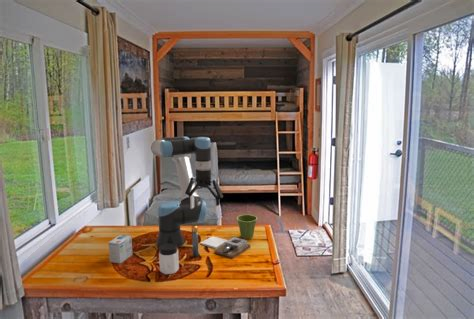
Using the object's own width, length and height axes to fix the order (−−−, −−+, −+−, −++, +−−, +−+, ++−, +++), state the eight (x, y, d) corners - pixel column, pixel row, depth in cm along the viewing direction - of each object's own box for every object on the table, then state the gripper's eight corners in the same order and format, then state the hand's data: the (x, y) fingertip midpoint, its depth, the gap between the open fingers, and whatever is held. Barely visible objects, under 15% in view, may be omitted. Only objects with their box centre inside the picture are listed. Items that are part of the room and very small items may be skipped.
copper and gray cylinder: (191, 256, 195) (190, 226, 192) (195, 254, 197) (194, 224, 194) (195, 257, 193) (194, 227, 190) (199, 255, 196) (198, 226, 193)
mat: (200, 244, 210) (200, 242, 209) (212, 237, 218) (212, 236, 218) (216, 248, 203) (215, 247, 203) (228, 241, 212) (228, 240, 212)
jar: (160, 275, 175) (158, 251, 173) (159, 267, 183) (158, 244, 181) (179, 273, 177) (178, 249, 175) (178, 265, 185) (177, 242, 183)
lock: (214, 252, 198) (214, 245, 198) (232, 242, 211) (232, 235, 210) (233, 258, 192) (232, 251, 191) (250, 247, 204) (250, 240, 204)
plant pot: (234, 239, 215) (234, 220, 213) (239, 232, 227) (239, 214, 225) (255, 241, 213) (255, 222, 211) (258, 233, 224) (258, 215, 222)
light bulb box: (122, 253, 200) (120, 234, 198) (133, 255, 198) (131, 235, 196) (109, 262, 190) (107, 241, 188) (120, 263, 188) (119, 243, 186)
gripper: (177, 168, 188) (179, 208, 193) (222, 172, 178) (223, 215, 183) (185, 164, 195) (186, 204, 199) (229, 169, 185) (229, 210, 190)
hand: (204, 209), depth 191 cm, fingers open, 13 cm apart
